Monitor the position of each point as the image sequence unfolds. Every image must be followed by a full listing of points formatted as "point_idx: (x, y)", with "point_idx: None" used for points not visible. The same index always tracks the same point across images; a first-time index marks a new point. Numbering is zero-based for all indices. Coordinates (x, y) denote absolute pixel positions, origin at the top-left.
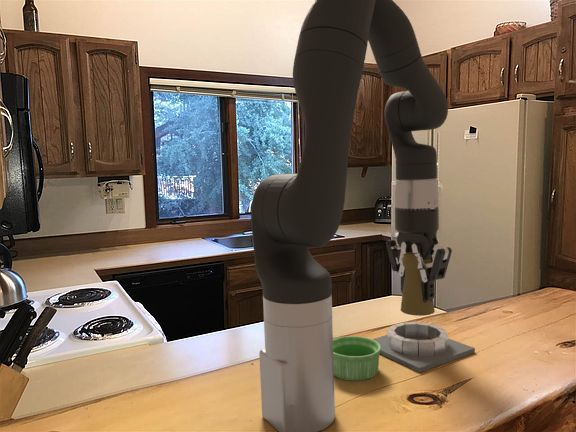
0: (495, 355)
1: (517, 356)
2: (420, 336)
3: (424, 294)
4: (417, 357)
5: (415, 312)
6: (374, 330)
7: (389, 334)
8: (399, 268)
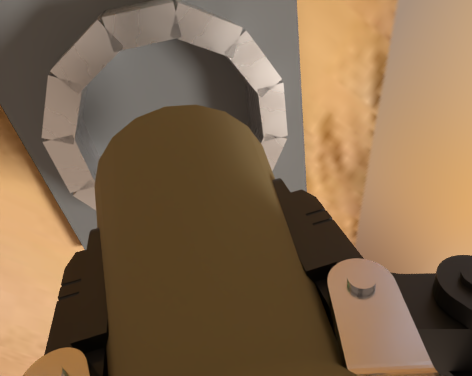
0: (54, 277)
1: (35, 313)
2: None
3: (86, 265)
4: (54, 50)
5: (110, 147)
6: (378, 67)
7: (201, 11)
8: (408, 314)
